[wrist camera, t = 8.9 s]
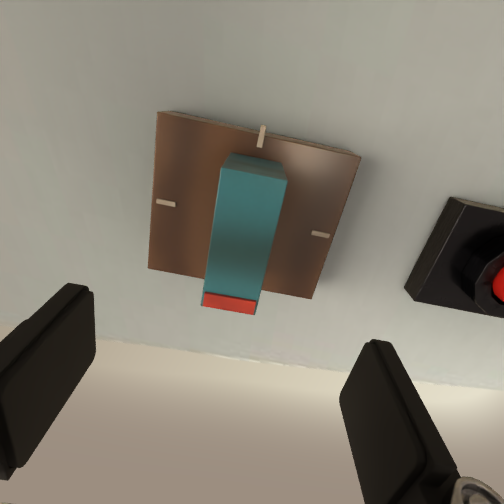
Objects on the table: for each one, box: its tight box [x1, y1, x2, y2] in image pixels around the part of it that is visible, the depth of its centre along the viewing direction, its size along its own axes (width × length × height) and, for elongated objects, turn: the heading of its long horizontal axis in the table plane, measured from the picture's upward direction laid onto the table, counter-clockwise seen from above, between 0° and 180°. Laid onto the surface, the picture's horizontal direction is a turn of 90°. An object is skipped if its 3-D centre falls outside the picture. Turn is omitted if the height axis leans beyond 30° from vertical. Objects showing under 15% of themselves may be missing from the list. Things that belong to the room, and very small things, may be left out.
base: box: [148, 111, 361, 299], centre depth 24 cm, size 14×13×3 cm
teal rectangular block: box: [201, 153, 288, 315], centre depth 20 cm, size 9×4×6 cm, turn 169°
